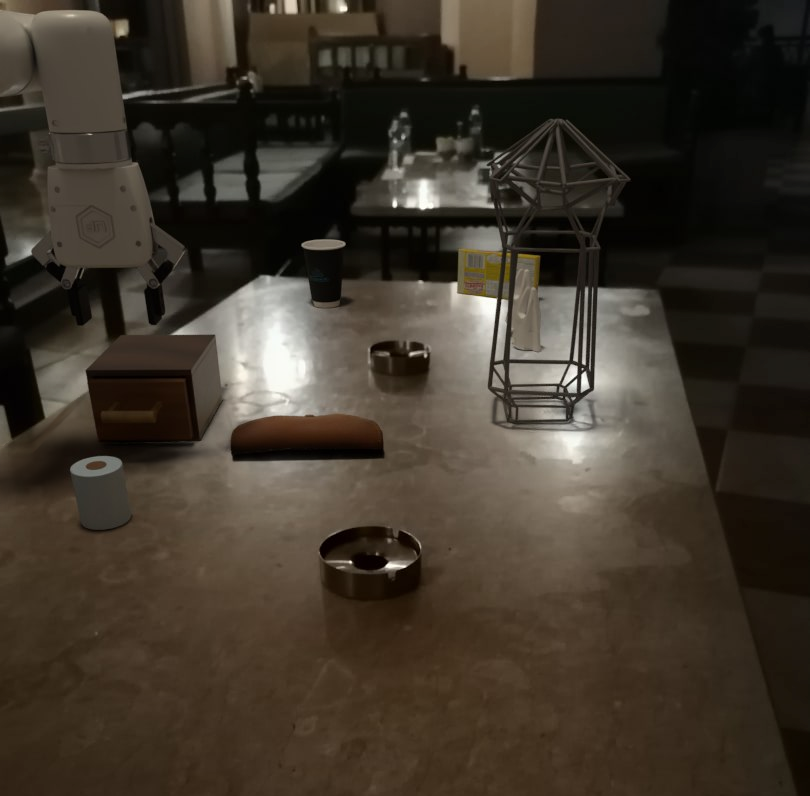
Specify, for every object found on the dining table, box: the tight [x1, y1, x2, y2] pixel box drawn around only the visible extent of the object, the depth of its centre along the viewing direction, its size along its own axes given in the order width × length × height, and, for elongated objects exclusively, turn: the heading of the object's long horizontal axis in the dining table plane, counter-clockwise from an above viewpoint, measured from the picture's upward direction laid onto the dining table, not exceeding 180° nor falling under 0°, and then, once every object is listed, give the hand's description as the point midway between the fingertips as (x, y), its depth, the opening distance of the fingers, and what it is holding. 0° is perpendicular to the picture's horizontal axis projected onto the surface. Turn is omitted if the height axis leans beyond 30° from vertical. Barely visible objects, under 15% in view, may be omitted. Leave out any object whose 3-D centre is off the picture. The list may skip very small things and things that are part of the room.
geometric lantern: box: [486, 118, 632, 424], centre depth 110 cm, size 16×16×35 cm
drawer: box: [86, 376, 193, 441], centre depth 112 cm, size 18×11×7 cm, turn 179°
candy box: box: [456, 248, 541, 300], centre depth 170 cm, size 16×2×8 cm, turn 60°
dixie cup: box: [301, 239, 346, 309], centre depth 166 cm, size 8×8×11 cm
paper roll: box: [69, 455, 132, 531], centre depth 92 cm, size 5×5×6 cm
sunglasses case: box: [230, 413, 385, 457], centre depth 109 cm, size 18×7×7 cm
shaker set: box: [504, 269, 542, 353], centre depth 144 cm, size 12×4×11 cm, turn 3°
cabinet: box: [85, 334, 223, 442], centre depth 116 cm, size 15×13×9 cm
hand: (120, 321), depth 101 cm, fingers open, 7 cm apart
